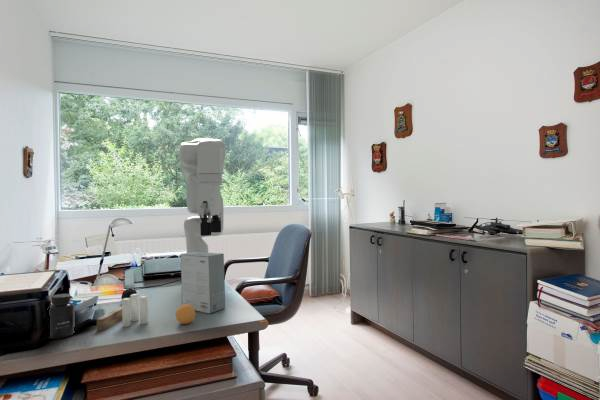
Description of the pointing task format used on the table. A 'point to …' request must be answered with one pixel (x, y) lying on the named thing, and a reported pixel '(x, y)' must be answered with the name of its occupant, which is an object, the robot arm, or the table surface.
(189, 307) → the ball
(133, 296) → the back right pin
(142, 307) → the front pin
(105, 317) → the backstop wall
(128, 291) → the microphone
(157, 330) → the table surface
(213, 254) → the hard drive box
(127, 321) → the back left pin
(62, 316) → the supplement bottle
